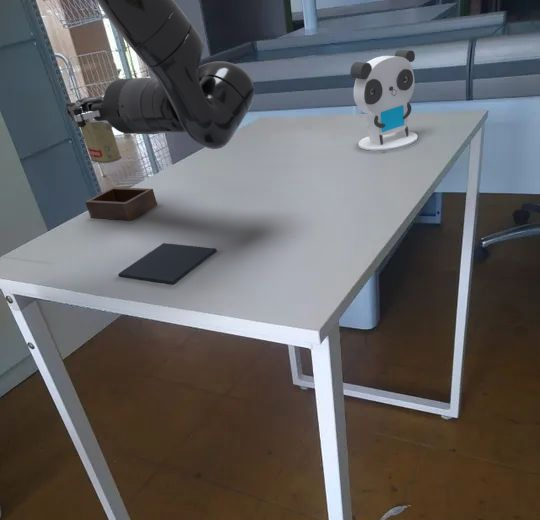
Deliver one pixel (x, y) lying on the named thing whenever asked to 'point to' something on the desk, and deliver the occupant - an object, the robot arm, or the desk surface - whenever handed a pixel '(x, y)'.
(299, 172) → the desk surface
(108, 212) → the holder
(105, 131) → the lighter
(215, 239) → the desk surface
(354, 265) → the desk surface
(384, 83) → the panda figurine
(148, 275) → the mat
